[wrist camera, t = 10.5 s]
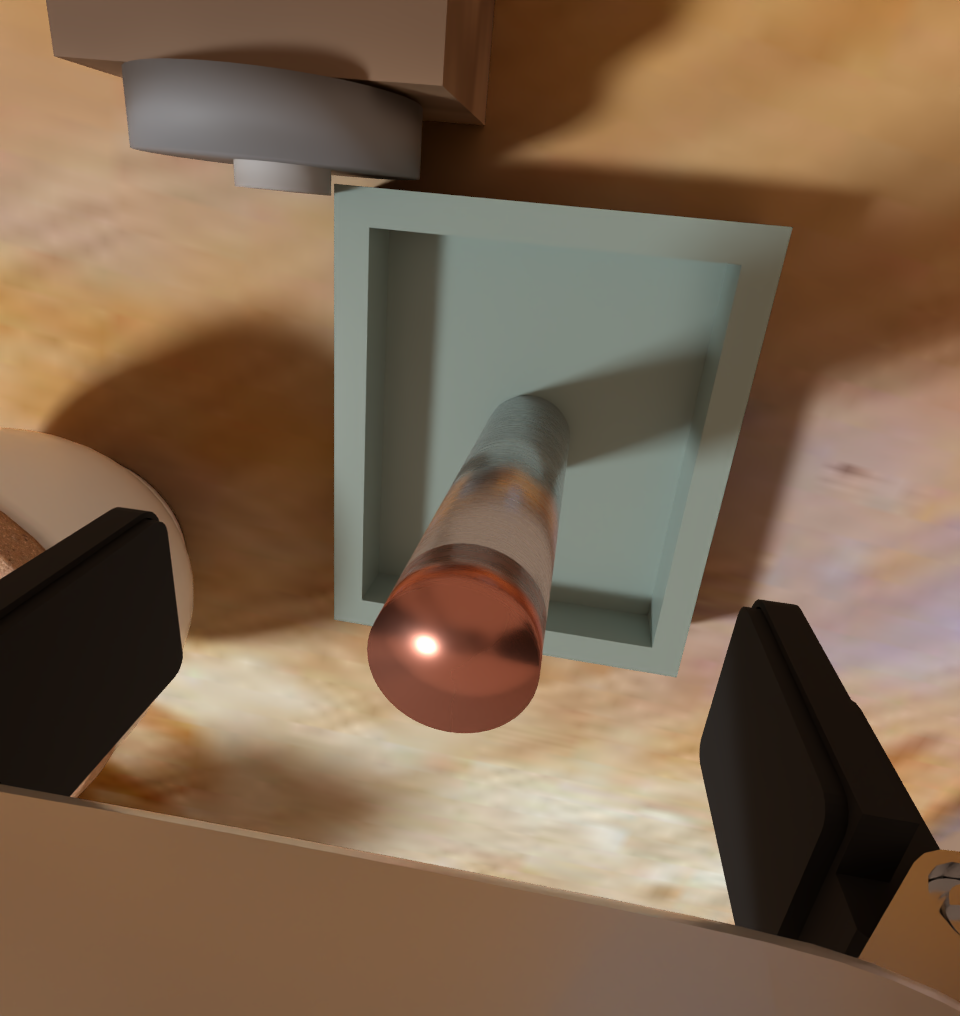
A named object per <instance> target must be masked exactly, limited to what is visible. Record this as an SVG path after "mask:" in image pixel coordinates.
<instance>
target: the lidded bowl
mask: <svg viewBox="0 0 960 1016" xmlns="http://www.w3.org/2000/svg"><path fill="white" fill-rule="evenodd" d="M115 507H123V508H130V509H137V510H144V511H151V512H153V513H155V514H156V516H157V517H158V519H159V521H160V522H163V523H164V524H165V525H166V527H167V531H168V538H169V546H170V554H171V562H172V570H173V578H174V587H175V595H176V603H177V611H178V619H179V627H180V635H181V643H182V651H183V648H184V645H185V642H186V639H187V636H188V632H189V628H190V625H191V619H192V612H193V597H194V593H193V574H192V569H191V564H190V559H189V556H188V553H187V550H186V545H185V540H184V536H183V533H182V531H181V528H180V525H179V523H178V521H177V519H176V517H175V515H174V513H173V511H172V510H171V509H170V507H169V506H168V504H167V503H166V501H165V500H164V499H163V498H162V497H161V495H160V494H159V493H158V492H157V491H156V490H155V489H154V488H153V487H152V486H151V485H150V484H149V483H147V482H146V481H145V480H144V479H143V478H141V477H140V476H138V475H137V474H135V473H134V472H133V471H131V470H129V469H127V468H125V467H123V466H121V465H119V464H118V463H116V462H115V461H113V460H112V459H110V458H109V457H107V456H105V455H103V454H101V453H99V452H97V451H95V450H93V449H91V448H89V447H87V446H84V445H81V444H79V443H76V442H73V441H70V440H67V439H64V438H61V437H58V436H55V435H51V434H46V433H41V432H36V431H31V430H22V429H13V428H0V579H1V578H3V577H4V576H6V575H8V574H9V573H11V572H12V571H14V570H16V569H17V568H19V567H20V566H22V565H24V564H25V563H27V562H28V561H30V560H31V559H33V558H35V557H36V556H38V555H39V554H41V553H43V552H44V551H46V550H47V549H49V548H51V547H52V546H54V545H55V544H57V543H58V542H60V541H62V540H63V539H65V538H66V537H68V536H70V535H71V534H73V533H74V532H76V531H78V530H79V529H81V528H82V527H84V526H85V525H87V524H89V523H90V522H92V521H93V520H95V519H97V518H98V517H100V516H101V515H103V514H105V513H106V512H108V511H109V510H111V509H113V508H115ZM154 701H155V700H154ZM154 701H153V702H154ZM153 702H152V703H151V705H152V704H153ZM151 705H150V706H149V707H148V708H147V709H146V710H145V711H144V713H143V714H142V715H141V716H140V717H139V718H138V719H137V721H136V722H135V723H134V724H133V725H132V726H131V727H130V729H129V730H128V731H127V732H126V733H125V734H124V735H123V737H122V738H121V739H120V740H119V741H118V742H117V743H116V745H115V746H114V747H113V748H112V749H111V750H110V751H109V753H108V754H107V755H106V756H105V757H104V758H103V759H102V761H101V762H100V763H99V764H98V765H97V766H96V767H95V769H94V770H93V771H92V772H91V773H90V774H89V775H88V776H87V778H86V779H85V780H84V781H83V782H82V783H81V784H80V786H79V787H78V788H77V789H76V790H75V791H74V792H73V794H72V795H71V796H70V797H74V798H77V797H78V796H79V795H80V794H81V793H82V792H83V791H84V790H85V789H86V788H87V787H88V786H89V785H90V783H91V782H92V781H93V780H94V779H95V778H96V777H97V776H98V774H99V773H100V772H101V770H102V769H103V768H104V766H105V764H106V763H107V761H108V760H109V758H110V756H111V755H112V753H113V752H114V750H115V749H116V748H117V747H118V746H119V745H120V744H121V743H122V742H123V741H124V739H125V738H126V737H127V736H128V735H129V734H130V732H131V731H132V730H133V729H134V728H135V726H136V725H137V724H138V723H139V722H140V720H141V719H142V718H143V717H144V716H145V714H146V713H147V711H148V710H149V708H150V707H151Z"/></svg>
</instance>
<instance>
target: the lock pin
mask: <svg viewBox="0 0 960 1016" xmlns="http://www.w3.org/2000/svg"><path fill="white" fill-rule="evenodd" d="M569 443H570V431H569V426H568V423H567V421H566V419H565V417H564V415H563V414H562V412H561V411H560V410H559V409H558V408H557V407H556V406H555V405H554V404H553V403H551V402H550V401H548V400H546V399H544V398H541V397H538V396H532V395H522V396H516V397H513V398H510V399H508V400H506V401H504V402H503V403H502V404H500V405H499V406H498V407H497V408H496V409H495V410H494V411H493V413H492V414H491V416H490V418H489V420H488V421H487V423H486V425H485V427H484V428H483V430H482V432H481V434H480V436H479V437H478V439H477V441H476V443H475V444H474V446H473V448H472V450H471V451H470V453H469V455H468V457H467V459H466V460H465V462H464V464H463V466H462V467H461V469H460V471H459V473H458V475H457V476H456V478H455V480H454V482H453V483H452V485H451V487H450V489H449V491H448V492H447V494H446V496H445V498H444V499H443V501H442V503H441V505H440V506H439V508H438V510H437V512H436V514H435V515H434V517H433V519H432V521H431V522H430V524H429V526H428V528H427V530H426V531H425V533H424V535H423V537H422V538H421V540H420V542H419V544H418V546H417V547H416V549H415V551H414V553H413V554H412V556H411V558H410V560H409V561H408V563H407V565H406V567H405V569H404V570H403V572H402V574H401V576H400V577H399V579H398V581H397V583H396V585H395V586H394V588H393V590H392V592H391V593H390V595H389V597H388V599H387V601H386V602H385V604H384V606H383V608H382V609H381V611H380V613H379V615H378V616H377V618H376V620H375V622H374V624H373V626H372V629H371V631H370V635H369V639H368V647H367V652H368V661H369V666H370V670H371V672H372V675H373V678H374V680H375V682H376V683H377V685H378V687H379V688H380V690H381V691H382V693H383V694H384V695H385V697H386V698H387V699H388V700H389V701H390V702H391V703H392V704H393V705H394V706H395V707H396V708H397V709H399V710H400V711H401V712H403V713H404V714H405V715H407V716H408V717H410V718H412V719H413V720H415V721H417V722H419V723H421V724H424V725H426V726H429V727H432V728H434V729H438V730H442V731H446V732H454V733H476V732H482V731H487V730H491V729H494V728H497V727H500V726H502V725H504V724H506V723H508V722H509V721H511V720H512V719H514V718H515V717H517V716H518V715H519V714H520V713H521V712H522V711H523V710H524V709H525V708H526V707H527V706H528V704H529V703H530V701H531V700H532V698H533V696H534V694H535V691H536V689H537V686H538V682H539V676H540V669H541V661H542V653H543V645H544V638H545V630H546V622H547V614H548V606H549V599H550V591H551V583H552V575H553V568H554V560H555V552H556V544H557V536H558V529H559V521H560V513H561V505H562V497H563V490H564V482H565V474H566V466H567V459H568V451H569Z"/></svg>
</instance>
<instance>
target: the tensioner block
mask: <svg viewBox="0 0 960 1016" xmlns="http://www.w3.org/2000/svg"><path fill="white" fill-rule="evenodd" d="M46 3H47V10H48V17H49V24H50V31H51V38H52V45H53V52H54V56H55V57H58V58H62V59H65V60H68V61H71V62H74V63H77V64H80V65H84V66H87V67H90V68H93V69H96V70H99V71H103V72H106V73H109V74H112V75H115V76H118V77H121V78H123V86H124V95H125V104H126V113H127V122H128V131H129V140H130V148H133V149H136V150H141V151H146V152H151V153H157V154H163V155H169V156H176V157H183V158H190V159H197V160H204V161H212V162H220V163H228V164H234V180H235V186H239V187H248V188H257V189H267V190H277V191H286V192H297V193H307V194H318V195H329V196H331V175H339V176H350V177H362V178H375V179H391V180H419V179H420V161H421V140H422V120H425V121H437V122H449V123H461V124H473V125H485V117H486V105H487V92H488V80H489V67H490V55H491V42H492V30H493V18H494V5H495V0H46Z"/></svg>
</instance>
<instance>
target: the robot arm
mask: <svg viewBox="0 0 960 1016" xmlns="http://www.w3.org/2000/svg"><path fill="white" fill-rule="evenodd" d="M182 658H183V651H182V643H181V635H180V627H179V619H178V611H177V603H176V595H175V587H174V578H173V570H172V562H171V554H170V546H169V538H168V531H167V527H166V525H165V524H164V523H163V522H160V521H159V519H158V517H157V516H156V514H155V513H153V512H151V511H144V510H137V509H130V508H123V507H115V508H113V509H111V510H109V511H108V512H106V513H105V514H103V515H101V516H100V517H98V518H97V519H95V520H93V521H92V522H90V523H89V524H87V525H85V526H84V527H82V528H81V529H79V530H78V531H76V532H74V533H73V534H71V535H70V536H68V537H66V538H65V539H63V540H62V541H60V542H58V543H57V544H55V545H54V546H52V547H51V548H49V549H47V550H46V551H44V552H43V553H41V554H39V555H38V556H36V557H35V558H33V559H31V560H30V561H28V562H27V563H25V564H24V565H22V566H20V567H19V568H17V569H16V570H14V571H12V572H11V573H9V574H8V575H6V576H4V577H3V578H1V579H0V1016H960V852H958V851H949V850H940V849H939V847H938V845H937V843H936V841H935V840H934V838H933V836H932V834H931V833H930V831H929V829H928V827H927V826H926V824H925V822H924V820H923V818H922V817H921V815H920V813H919V811H918V810H917V808H916V806H915V804H914V803H913V801H912V799H911V797H910V795H909V794H908V792H907V790H906V788H905V787H904V785H903V783H902V781H901V780H900V778H899V776H898V774H897V772H896V771H895V769H894V767H893V765H892V764H891V762H890V760H889V758H888V757H887V755H886V753H885V751H884V749H883V748H882V746H881V744H880V742H879V741H878V739H877V737H876V735H875V734H874V732H873V730H872V728H871V726H870V725H869V723H868V721H867V719H866V718H865V716H864V714H863V712H862V710H861V709H860V708H859V707H858V705H857V704H856V703H855V702H853V701H852V700H851V699H850V697H849V695H848V693H847V692H846V690H845V688H844V686H843V684H842V683H841V681H840V679H839V677H838V675H837V674H836V672H835V670H834V668H833V666H832V665H831V663H830V661H829V659H828V657H827V656H826V654H825V652H824V650H823V648H822V647H821V645H820V643H819V641H818V639H817V638H816V636H815V634H814V632H813V630H812V629H811V627H810V625H809V623H808V621H807V620H806V618H805V616H804V614H803V612H802V611H801V609H800V608H799V606H798V605H794V604H787V603H780V602H773V601H766V600H759V599H758V600H757V601H755V603H754V604H753V606H752V608H750V607H742V608H741V610H740V611H739V614H738V617H737V620H736V623H735V627H734V630H733V634H732V637H731V640H730V644H729V647H728V650H727V654H726V657H725V660H724V664H723V667H722V671H721V674H720V677H719V681H718V684H717V687H716V691H715V694H714V697H713V701H712V704H711V708H710V711H709V714H708V718H707V721H706V724H705V728H704V731H703V734H702V738H701V742H700V765H701V770H702V774H703V779H704V784H705V788H706V793H707V797H708V802H709V807H710V811H711V816H712V820H713V825H714V830H715V834H716V839H717V843H718V848H719V853H720V857H721V862H722V866H723V871H724V876H725V880H726V885H727V890H728V894H729V899H730V903H731V908H732V913H733V917H734V922H735V925H731V924H727V923H722V922H718V921H713V920H708V919H704V918H699V917H695V916H690V915H685V914H680V913H675V912H670V911H665V910H660V909H655V908H650V907H645V906H641V905H636V904H631V903H626V902H622V901H617V900H612V899H608V898H603V897H597V896H592V895H587V894H582V893H577V892H572V891H566V890H561V889H556V888H551V887H546V886H541V885H536V884H530V883H525V882H520V881H515V880H510V879H505V878H499V877H494V876H489V875H484V874H479V873H474V872H469V871H463V870H458V869H453V868H448V867H443V866H438V865H433V864H427V863H422V862H417V861H412V860H407V859H401V858H396V857H391V856H386V855H380V854H375V853H370V852H364V851H359V850H354V849H349V848H343V847H338V846H333V845H327V844H322V843H317V842H312V841H306V840H301V839H296V838H290V837H285V836H280V835H274V834H269V833H264V832H258V831H253V830H248V829H242V828H237V827H232V826H226V825H221V824H215V823H210V822H205V821H199V820H194V819H189V818H183V817H178V816H173V815H167V814H162V813H156V812H151V811H145V810H140V809H134V808H129V807H123V806H118V805H112V804H107V803H101V802H96V801H90V800H85V799H79V798H74V797H70V796H71V795H72V794H73V792H74V791H75V790H76V789H77V788H78V787H79V786H80V784H81V783H82V782H83V781H84V780H85V779H86V778H87V776H88V775H89V774H90V773H91V772H92V771H93V770H94V769H95V767H96V766H97V765H98V764H99V763H100V762H101V761H102V759H103V758H104V757H105V756H106V755H107V754H108V753H109V751H110V750H111V749H112V748H113V747H114V746H115V745H116V743H117V742H118V741H119V740H120V739H121V738H122V737H123V735H124V734H125V733H126V732H127V731H128V730H129V729H130V727H131V726H132V725H133V724H134V723H135V722H136V721H137V719H138V718H139V717H140V716H141V715H142V714H143V713H144V711H145V710H146V709H147V708H148V707H149V706H150V705H151V703H152V702H153V701H154V700H155V699H156V698H157V697H158V695H159V694H160V693H161V692H162V691H163V690H164V689H165V687H166V686H167V685H168V684H169V683H170V682H171V681H172V680H173V678H174V677H175V676H176V674H177V673H178V671H179V669H180V667H181V663H182Z"/></svg>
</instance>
